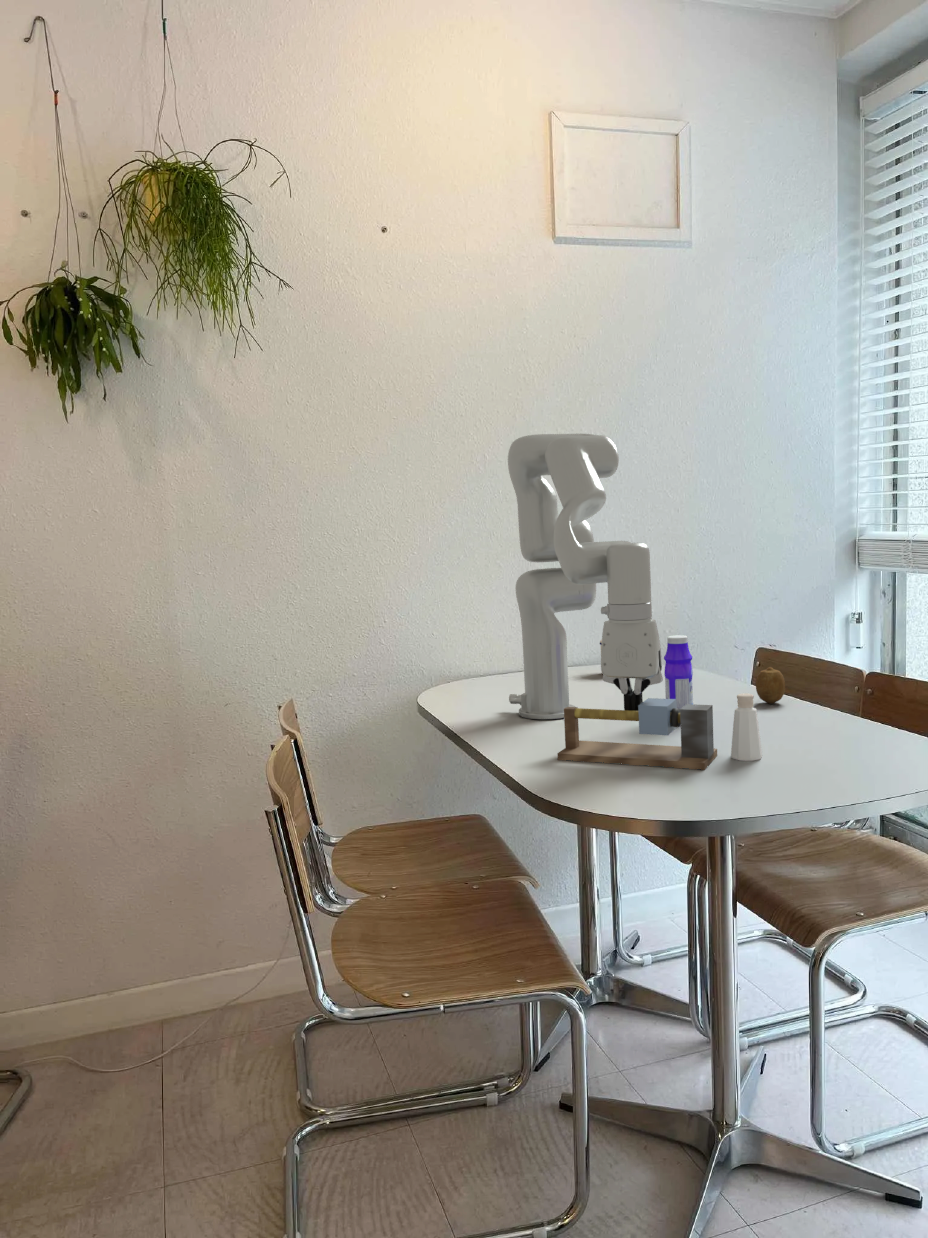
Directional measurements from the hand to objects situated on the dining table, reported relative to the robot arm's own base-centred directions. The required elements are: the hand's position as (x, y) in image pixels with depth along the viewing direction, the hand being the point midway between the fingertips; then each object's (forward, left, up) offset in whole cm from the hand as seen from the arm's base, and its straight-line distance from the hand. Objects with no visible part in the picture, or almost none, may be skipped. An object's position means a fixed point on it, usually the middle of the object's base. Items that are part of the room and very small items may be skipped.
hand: (633, 714), depth 174 cm
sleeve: (+5, -3, -2) cm, 6 cm away
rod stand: (+1, -2, -7) cm, 8 cm away
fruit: (+16, +49, -7) cm, 52 cm away
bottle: (+1, +28, -7) cm, 29 cm away
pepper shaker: (+19, +2, -7) cm, 21 cm away
